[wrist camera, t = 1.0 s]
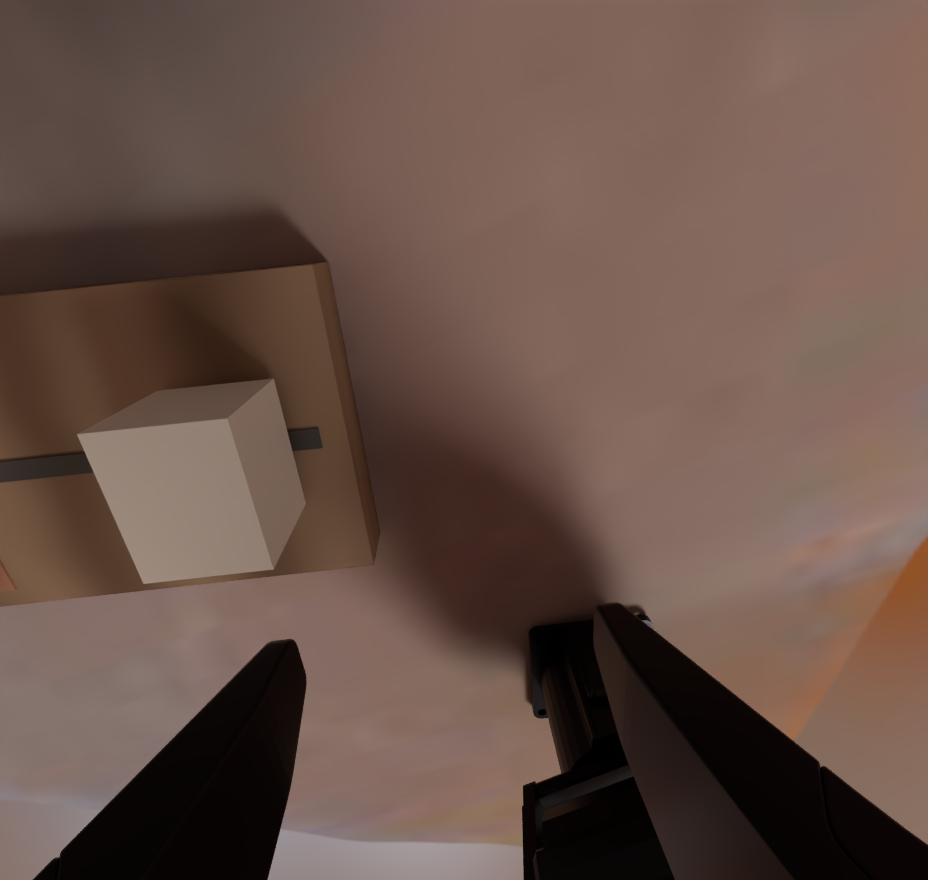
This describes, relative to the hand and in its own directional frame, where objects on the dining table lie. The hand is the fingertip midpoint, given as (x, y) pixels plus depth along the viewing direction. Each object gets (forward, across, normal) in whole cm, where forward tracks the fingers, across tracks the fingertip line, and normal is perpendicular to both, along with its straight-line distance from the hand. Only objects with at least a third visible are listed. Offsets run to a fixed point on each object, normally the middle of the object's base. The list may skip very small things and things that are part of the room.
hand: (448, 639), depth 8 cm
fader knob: (+10, +8, 0) cm, 13 cm away
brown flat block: (+13, +14, 0) cm, 19 cm away
